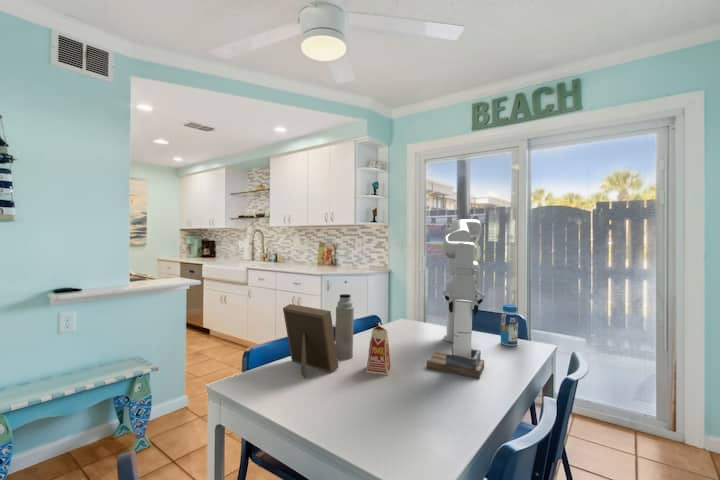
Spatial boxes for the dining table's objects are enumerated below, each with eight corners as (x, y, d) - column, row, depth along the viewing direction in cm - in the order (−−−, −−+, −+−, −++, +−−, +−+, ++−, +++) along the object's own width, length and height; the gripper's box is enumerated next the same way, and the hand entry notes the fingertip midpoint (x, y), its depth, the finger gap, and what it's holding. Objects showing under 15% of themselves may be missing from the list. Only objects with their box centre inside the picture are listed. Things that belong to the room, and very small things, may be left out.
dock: (435, 358, 162) (435, 343, 162) (484, 367, 152) (484, 350, 152) (426, 368, 149) (427, 352, 149) (479, 378, 140) (479, 360, 140)
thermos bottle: (336, 353, 166) (337, 292, 166) (353, 354, 165) (354, 293, 165) (333, 359, 158) (334, 295, 158) (351, 360, 157) (352, 296, 157)
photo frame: (298, 358, 158) (299, 302, 157) (338, 369, 146) (339, 308, 145) (273, 369, 145) (273, 307, 145) (314, 382, 133) (315, 315, 133)
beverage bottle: (500, 340, 193) (501, 303, 192) (518, 343, 189) (519, 305, 189) (499, 344, 185) (500, 306, 185) (517, 347, 181) (518, 307, 181)
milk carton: (388, 375, 141) (389, 324, 141) (365, 373, 143) (366, 323, 143) (391, 367, 150) (392, 319, 150) (369, 365, 152) (370, 317, 152)
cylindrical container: (467, 365, 145) (468, 303, 145) (450, 361, 149) (451, 301, 149) (473, 360, 150) (474, 301, 150) (457, 357, 155) (458, 299, 155)
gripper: (487, 272, 149) (486, 314, 149) (445, 270, 156) (444, 309, 157) (484, 274, 142) (483, 317, 142) (441, 271, 150) (440, 312, 150)
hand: (463, 313), depth 149 cm, fingers open, 9 cm apart
